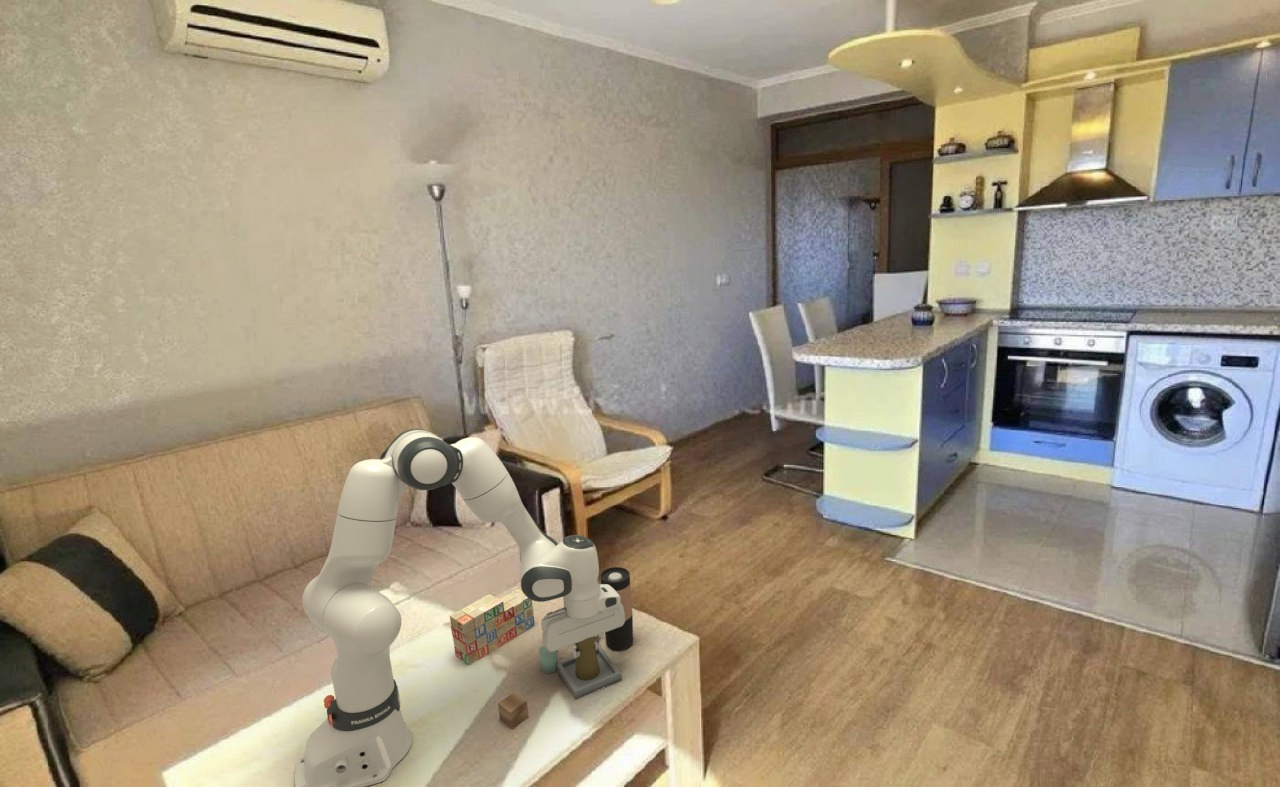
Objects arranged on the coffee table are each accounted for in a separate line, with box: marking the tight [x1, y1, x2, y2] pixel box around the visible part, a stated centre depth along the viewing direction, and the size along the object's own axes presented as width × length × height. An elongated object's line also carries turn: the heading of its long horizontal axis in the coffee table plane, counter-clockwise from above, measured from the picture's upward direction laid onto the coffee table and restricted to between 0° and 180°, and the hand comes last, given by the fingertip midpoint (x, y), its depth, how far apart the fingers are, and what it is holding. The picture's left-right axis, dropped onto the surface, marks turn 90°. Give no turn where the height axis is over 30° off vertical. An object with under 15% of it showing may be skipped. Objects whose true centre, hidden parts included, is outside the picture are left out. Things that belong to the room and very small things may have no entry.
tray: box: [556, 647, 623, 700], centre depth 151 cm, size 12×12×2 cm
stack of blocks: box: [449, 588, 536, 666], centre depth 165 cm, size 21×6×12 cm, turn 138°
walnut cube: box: [497, 691, 529, 730], centre depth 138 cm, size 4×4×4 cm
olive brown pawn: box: [575, 636, 600, 680], centre depth 150 cm, size 6×6×11 cm
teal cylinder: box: [538, 644, 559, 674], centre depth 154 cm, size 4×4×5 cm
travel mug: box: [600, 566, 634, 652], centre depth 160 cm, size 8×8×20 cm
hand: (586, 652), depth 149 cm, fingers closed on olive brown pawn, 4 cm apart
